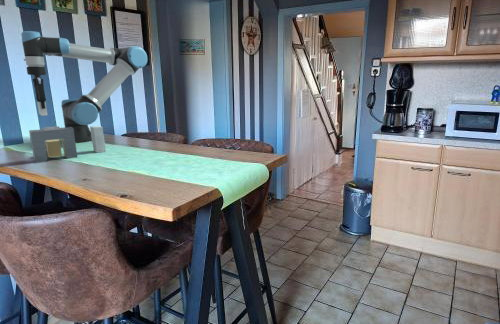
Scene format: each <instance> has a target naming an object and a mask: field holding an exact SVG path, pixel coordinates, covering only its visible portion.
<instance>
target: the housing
mask: <svg viewBox="0 0 500 324" xmlns="http://www.w3.org/2000/svg"><path fill="white" fill-rule="evenodd" d="M28 131H29V137H30V143H31V148H32V156H33V161H34V163H44V162H48V157H47V156H48V155H47V152H46V149H45V144H46V143H45V142H46V141H45V140H55V139H58V140H61V142H62V143H61V144H62V148H63V155H64V156H63V157H65V158H66V160H68V159H74V158H78V151H77V145H76V143H75V136H74V129H73V128H72V127H65V126H64V127H60V126H59V125H57V126H45V127H42V128H41V129H33V130H32V129H31V130H30V129H29V130H28Z"/></svg>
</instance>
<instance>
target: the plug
mask: <svg viewBox="0 0 500 324" xmlns="http://www.w3.org/2000/svg"><path fill="white" fill-rule="evenodd" d="M44 142H45V143H44V144H45V150H46V154H47V156H48V157H49V158H56V157H62V156H63V155H62V148H61V141H60V139H54V140H45V141H44Z"/></svg>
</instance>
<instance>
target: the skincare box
mask: <svg viewBox="0 0 500 324" xmlns="http://www.w3.org/2000/svg"><path fill="white" fill-rule="evenodd" d="M89 129H90V131H91V136H92V140H91V143H92V147H93V151H94V152H95V153H105V152H106V151H107V150H106V143H105V137H104V129H103V126H101V125H92V126H90V127H89Z"/></svg>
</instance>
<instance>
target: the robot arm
mask: <svg viewBox="0 0 500 324" xmlns="http://www.w3.org/2000/svg"><path fill="white" fill-rule="evenodd" d="M20 35H21V43H22V48H23V53H24V58H23V61H24V62H25V65H26V66H27V67H26V72H27V75H31V76H33V78H32V83H33V86H34V92H35V96H36V97H35V100H36V102H37V110H38V114H39V115H40V116H41V117H43V116H45V117H46V116H48V115H49V113H48V109H47V102H46V101H47V98H46V94H45V93H46V92H45V87H44V79H43V78H42V75H45V76H46V75H47V72H46V67H45V65H46V64H45V57H44V55H45V56H47V57H49V56H50V57H54V56H55V57H62V58H69V59H76V60H85V61H91V62H101V63H107V64H108V65H110V66H113V67H112V68H111V69H110V70H109V72H107V74H105V76H104V77H102V78H101V79H100V80H99V81H98V83H97V84H96V85H95V86H94V87H93V88H92V89H91V90H90V92H89V93H88V94H82V95H81V96H80V97H79V98H69V99H63V100H61V109H62V110H61V111H62V116H63V117H62V118H63V124H64V127H72V128H73V129H74V136H75V143H84V142H85V143H86V142H90V141H92V136H91V130H90V127H89V125H91V124H93V123H95V122H96V121H97V120H98V117H99V113H101V111H102V109H103V107H102V106H103V104H105V102H106V101H107V100H108V99H109V98H110V97H111V96H112V95H113V94H114V93H115V91H117V89H118V88H119V87H120V86H121V85H122V84H123V83H124V81H125V80H127V78H128V77H129V76H133V75H135V74H136V73H137V72H138V70H139V69H142V68H144V67H145V66H146V65H147V64H148V55H147V52H146V51H145V50H144V48H142V47H140V46H137V45H131V46H126V47H123V48H122V47H119V48H114V47H110V48H102V47H96V46H95V47H94V46H89V45H83V44H79V43H78V44H77V43H71V42H70V41H69V40H68V39H67V38H64V37H49V36H47V37H46V36H41V33H40V32H39V31H34V30H33V31H31V30H26V31H22V32H21V33H20Z"/></svg>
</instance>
